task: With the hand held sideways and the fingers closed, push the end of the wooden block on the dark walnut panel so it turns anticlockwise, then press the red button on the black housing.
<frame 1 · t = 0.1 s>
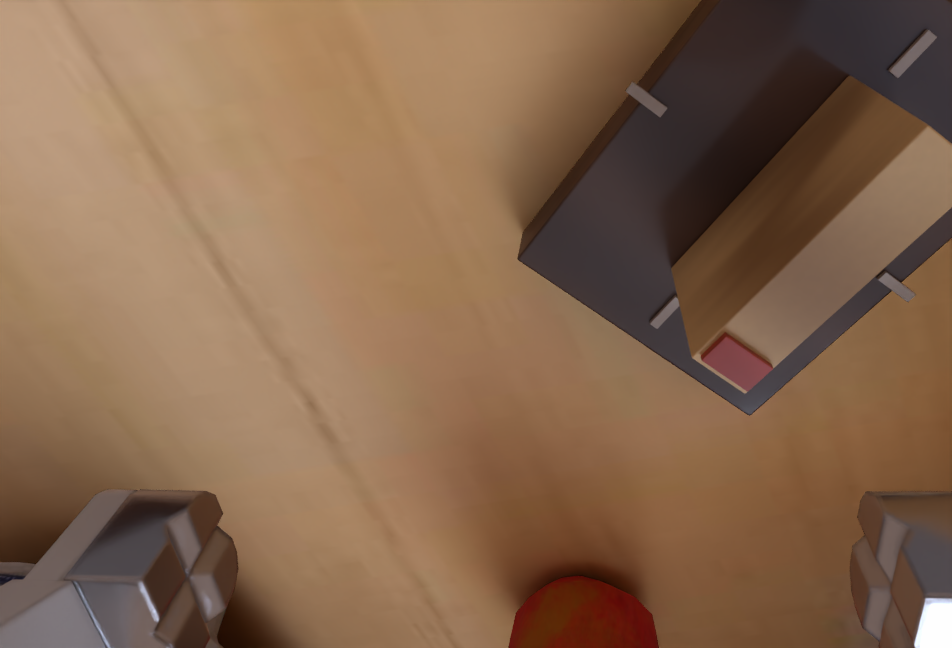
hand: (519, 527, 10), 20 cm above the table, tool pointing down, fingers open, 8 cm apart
apple: (583, 604, 39), on the table
wooden block: (799, 232, 22), point 6 cm above the table, hinge at 0.0°
handle panel: (760, 172, 27), on the table
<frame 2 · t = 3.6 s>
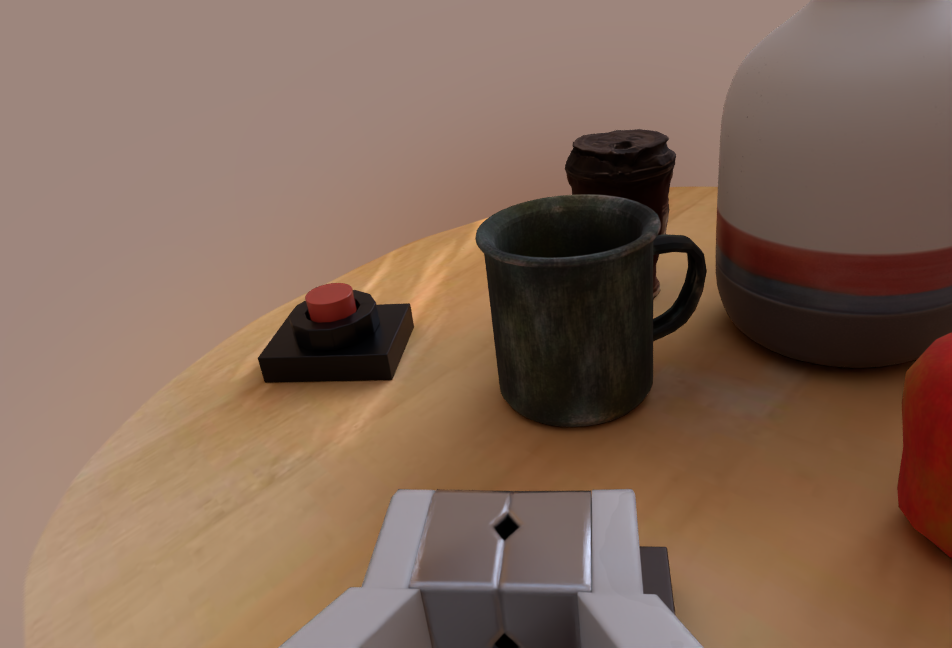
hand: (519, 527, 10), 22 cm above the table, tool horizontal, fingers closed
coffee cup: (621, 292, 63), on the table
red button: (331, 303, 57), point 4 cm above the table, slide at 0.1 cm
button box: (342, 353, 59), on the table
mug: (599, 385, 51), on the table
vase: (832, 327, 55), on the table
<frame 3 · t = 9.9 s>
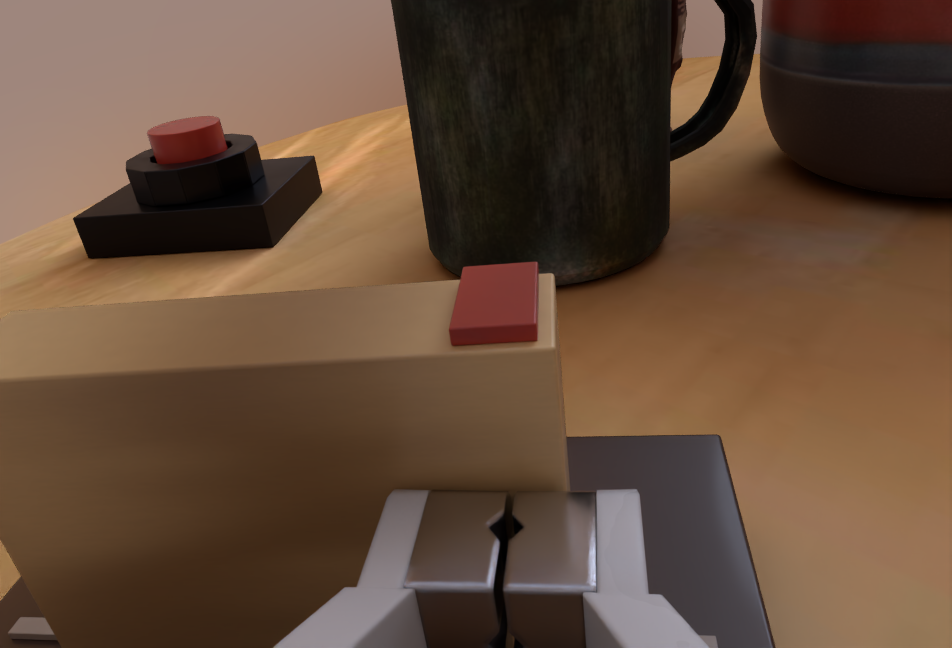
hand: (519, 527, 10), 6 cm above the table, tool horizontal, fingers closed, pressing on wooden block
wooden block: (295, 496, 11), point 6 cm above the table, hinge at 2.6°, touching gripper
coffee cup: (617, 148, 45), on the table
red button: (188, 142, 38), point 4 cm above the table, slide at 0.1 cm
button box: (213, 223, 41), on the table
mug: (584, 240, 33), on the table
vase: (937, 163, 36), on the table
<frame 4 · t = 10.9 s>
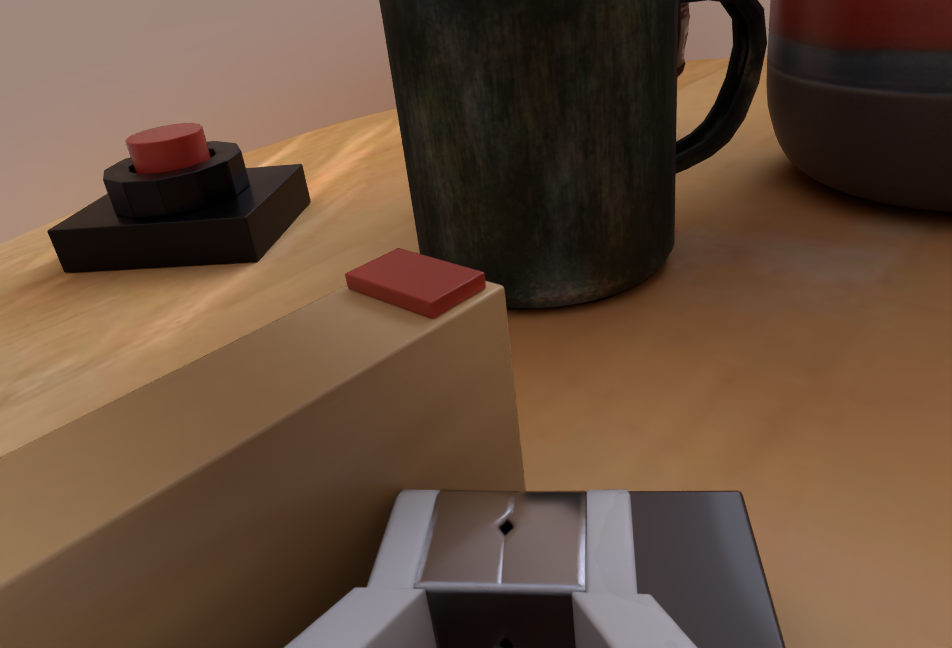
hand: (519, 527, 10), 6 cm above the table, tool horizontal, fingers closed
wooden block: (260, 595, 9), point 6 cm above the table, hinge at 54.0°, touching gripper
coffee cup: (617, 155, 43), on the table
red button: (169, 150, 37), point 4 cm above the table, slide at 0.1 cm
button box: (196, 235, 39), on the table
mug: (584, 256, 31), on the table
vase: (951, 174, 35), on the table
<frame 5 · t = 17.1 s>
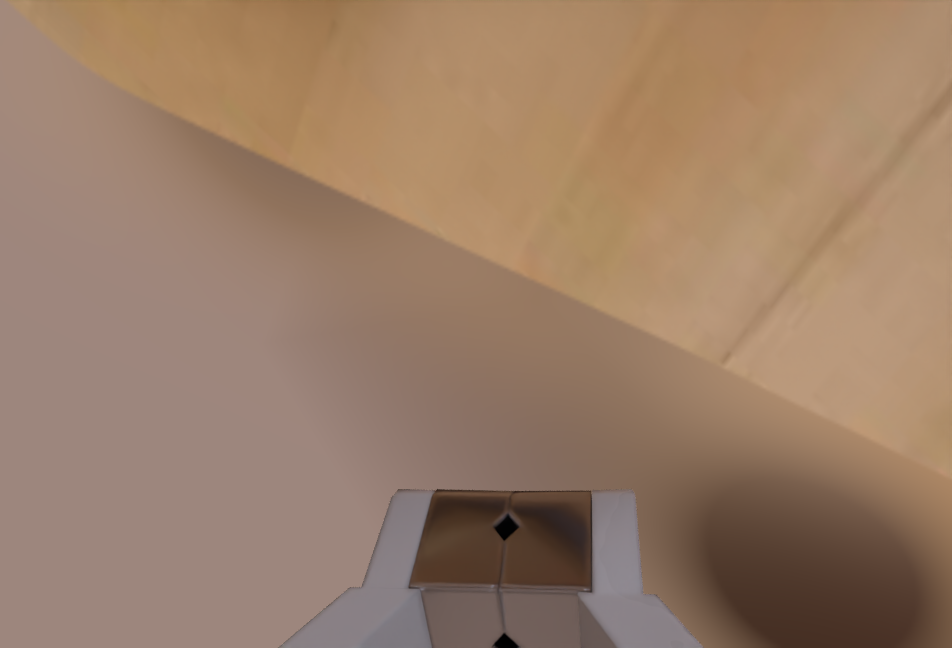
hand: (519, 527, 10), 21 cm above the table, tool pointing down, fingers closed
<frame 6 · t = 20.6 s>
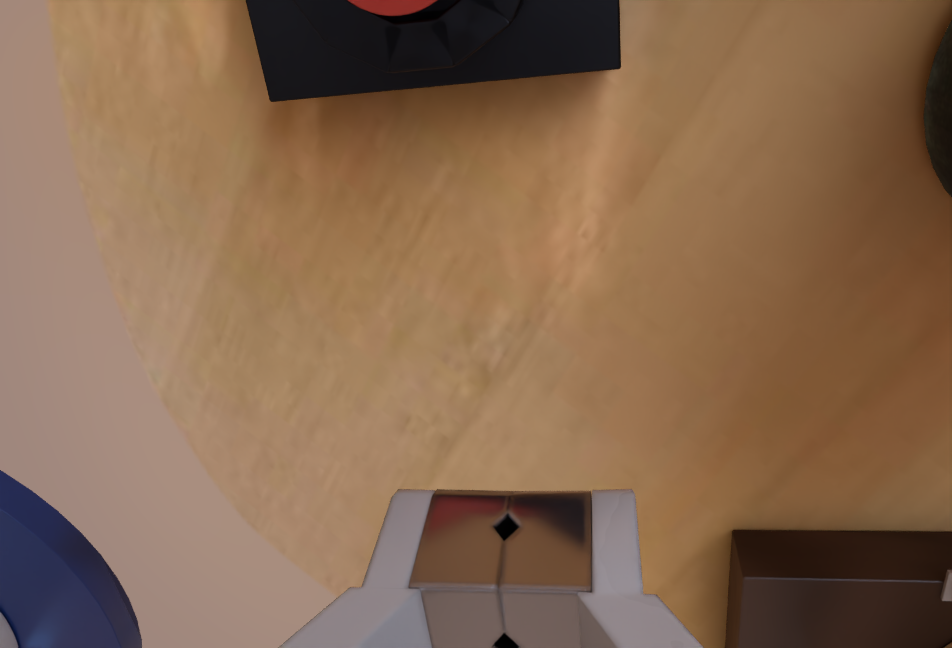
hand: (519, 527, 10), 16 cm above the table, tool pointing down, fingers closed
handle panel: (900, 628, 31), on the table
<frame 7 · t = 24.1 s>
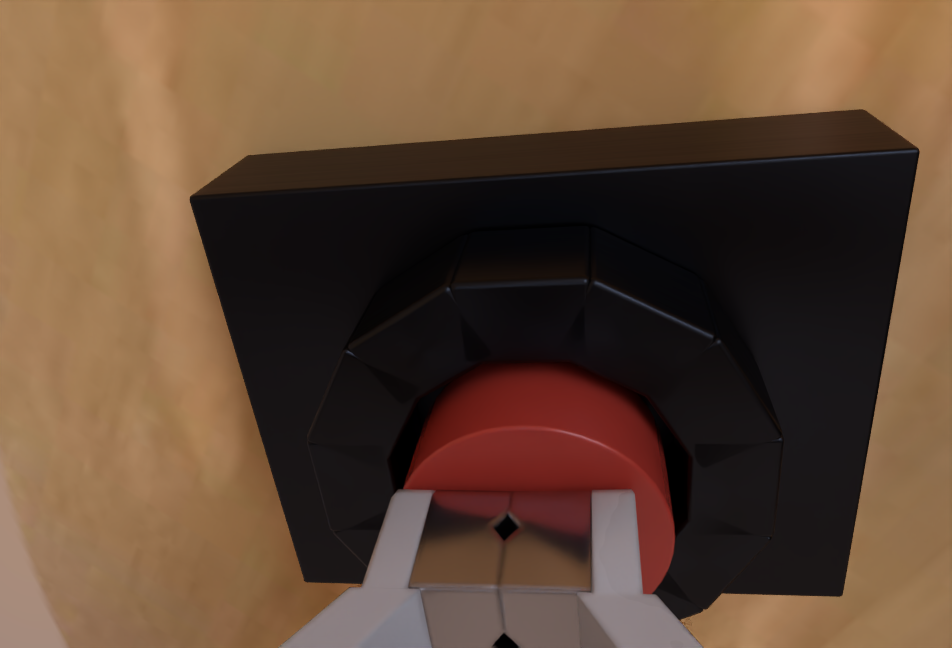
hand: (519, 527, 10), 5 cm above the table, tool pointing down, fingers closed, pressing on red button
red button: (536, 494, 10), point 4 cm above the table, slide at -0.3 cm, touching gripper
button box: (549, 346, 14), on the table
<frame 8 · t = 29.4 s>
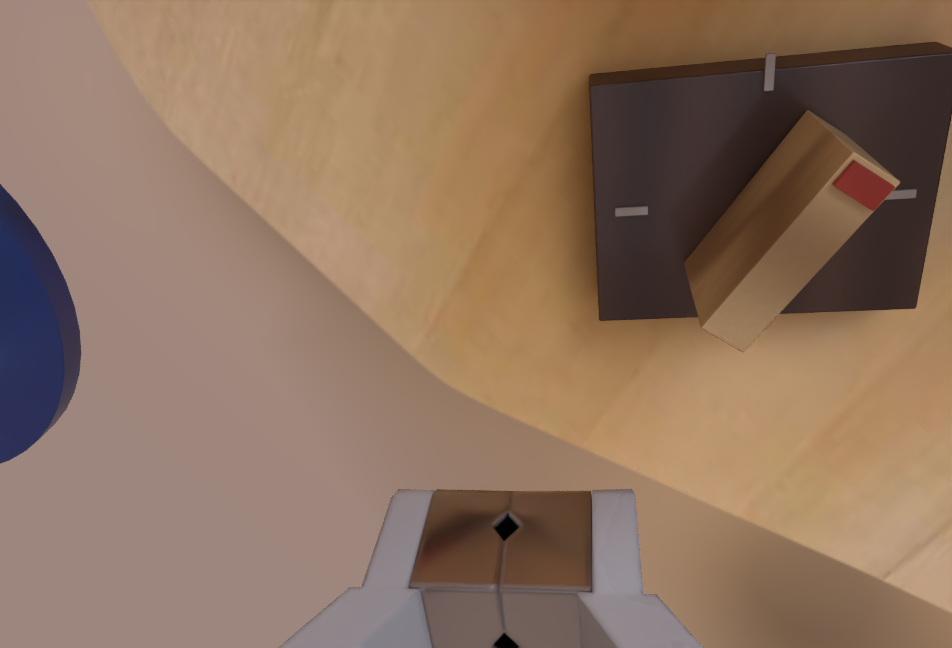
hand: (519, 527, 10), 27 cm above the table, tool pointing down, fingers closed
wooden block: (776, 230, 29), point 6 cm above the table, hinge at 54.0°
handle panel: (749, 183, 34), on the table
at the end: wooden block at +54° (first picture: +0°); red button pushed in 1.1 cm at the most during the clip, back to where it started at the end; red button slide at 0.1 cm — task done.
